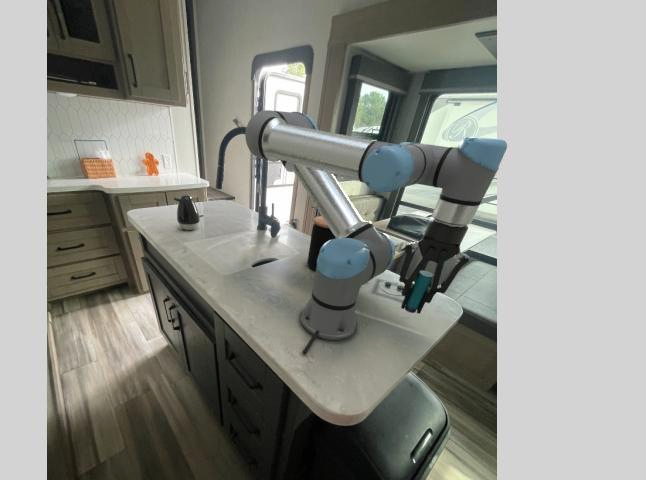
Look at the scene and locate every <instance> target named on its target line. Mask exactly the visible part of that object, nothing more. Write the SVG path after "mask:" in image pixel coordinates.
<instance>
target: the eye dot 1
mask: <svg viewBox="0 0 646 480" xmlns="http://www.w3.org/2000/svg"><path fill="white" fill-rule="evenodd" d="M384 286H385V287H388V288H390V287H392V282H384Z"/></svg>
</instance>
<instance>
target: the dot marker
mask: <svg viewBox="0 0 646 480" xmlns="http://www.w3.org/2000/svg"><path fill="white" fill-rule="evenodd" d="M433 276H434V273H432V272H430V271H427V270H421V271H420V272H419V274H418V275H417V277H416V278H415V280H414V282H413V284H414V285H413V289H412V292H411V294H410V296H409V299H408V301H407V303H406V306H405V308H404V310H405V311H406V312H407V313H410V314H414V313H417V309H418V308H419V306H420V303H421V301H422V299H423V297H424V295H425V293H426V291H427V288H429V286H430V285H431V283H432V280H433Z"/></svg>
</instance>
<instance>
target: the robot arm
mask: <svg viewBox="0 0 646 480" xmlns="http://www.w3.org/2000/svg"><path fill="white" fill-rule="evenodd" d="M244 136H245V144H246V146H247V149H248V150H249V151H250V153H251V155H253V156H254V157H256V158H257V159H260V160H263V161H268V162H272V163H277V162H279V161H280V162H281V163H282V166H283V167H284V169H285V171H286V172H288V173H294V175H295V176H296V178H297V179H298V181H299V182H300V184H301V185H302V188H304V190H305V192H306V194H307V195H308V197H309V198H310V200H311V202H312V203H313V205H314V206H315V208H316V209H317V211H318V213H319V214H320V216H322V217H323V219H324V220H325V222H326V223H327V225H328V227H329V228H330V230H331V231H332V233H333V234H334V236H335V238H336V239H332V240H330V241H328V242H326V243H325V244H324V245H323V246H322V247H321V249H320V253H319V256H318V259H317V267H316V270H315V273H314V279H313V283H312V290H311V295H310V297H309V299H308V301H307V302H306V304H305V305H304V307H303V309H302V310H301V315H300V317H301V318H300V322H301V325H302V326H303V328H304V329H305V330H306V331H307V332H308V333H310V334H311V335H312V336H311V338H310V339H309V340H308V343H307V344H306V346H305V347H304V348H303V350H302V354H307V353H308V350H309V349H310V347H311V346H312V345H313V343H314V342H315V340H316V338H319V339H322V340H327V341H342V340H345V339H346V340H347V339H348V338H350V337H351V336H352V335H353V334H354V332H355V330H356V326H357V315H356V303H357V299H358V296H359V292H360V290H361V288H362V286H364V285H365V284H367V283H368V282H369V281H371V280H373V279H375V278H376V277H378V276H379V275H381V274H383V273H384V272H386V270H387V269H388V268H390V266H391V265H392V264H393V262H394V259H395V256H396V247H395V243H394V241H393V239H392V238H391V237H390V236H389V235H388V234H387V233H384V232H381V231H378V230H377V229H376V227H375V225H374V224H373V222H372V221H368V220H363V218H362V217H361V215H360V213H359V212H358V210H357V209H356V207H355V206H354V204H353V203H352V202H351V200H350V199H349V197H348V195H347V194H346V192H345V191H344V189H343V188H342V186H341V185H340V183H339V181H338V180H337V179H336V177H335V176H339V177H341V178H345V179H348V180H353V181H356V182H360V183H363V184H365V185H366V186H367V188H369V189H370V190H371V191H373V192H376V193H391V192H394V191H397V190H399V189H402V188H407V187H410V186H413V185H422V186H428V187H433V188H438V189H441V192H440V194H439V196H438V199H437V201H436V204H435V207H434V209H433V211H432V214H431V217H432V218H430V219H429V221H428V223H427V226H426V229H425V231H424V233H423V236H421V238H420V239H419V240H418V241H413V242H412V241H410V240H409V241H407V242H406V244H405V257H404V260H403V261H404V262H403V265H402V268H401V272H400V274H399V279H398V281H399V282H400V283H403V284H404V285H403V286H404V288H403V290H401V295H402V296H401V297H404V298H403V300H402V303H401V306H400V307H401V308H400V309H403V310H405V306H406V303H407V301H408V299H409V296H410V294H411V292H412V289H413V285H414V282H415V280H416V278H417V276H418V274H419V272H420V271H422V270H423V268H424V266H425V265H426V263H428V262H433V263H436V264H435V268H434V271H433V278H432V280H431V283H430V287H428V288H427V291H426V293H425V295H424V297H423V299H422V301H421V303H420V306H419V308H418V309H417V310H416V314H418V315H420V314H421V312H422V310H423V308H424V306H425V304H426V303H427V304H430V303H431V302H432V300H433V299H434V296H435V295H437V293H439V294H445V293H446V292H447V290H448V289H449V287H450V286H451V284H452V283H453V281H454V280H455V279H456V276H457V275H458V273H459V272H460V270H461V269H462V268H463V267H464V266H465V265H466V264H468V263H469V262H470V257H469V254H468V253H464V252H462V251H461V244H462V243H463V240H464V238H465V236H466V233H467V232H468V230H469V226H468V225H471V224H472V222H473V220H474V218H475V216H476V214H477V212H478V210H479V208H480V206H481V203H482V201H483V199H484V197H485V196H486V193H487V192H488V190H489V188H490V186H491V184H492V182H493V180H494V178H495V176H496V174H497V172H498V170H499V169H500V168H499V167H500V165H501V163H502V160H503V159H504V156H505V153H506V152H507V148H508V143H507V142H506V141H505V140H503V139H497V138H490V137H489V138H487V137H475V136H466V137H463V139H462V140H461V142H460V144H459V145H458V147H457V146H444V145H443V146H442V145H436V144H428V143H420V142H417V141H415V142H413V141H411V142H408V141H407V142H406V141H403V142H400V143H399V144H396V143H390V142H386V141H378V140H374V139H367V138H362V137H357V136H352V135H346V134H340V133H336V132H330V131H324V130H319V129H318V126H317V124H316V122H315V121H314V119H313V118H312V117H311V116H309V115H308V114H306V113H302V112H300V111H281V110H271V109H266V110H261V111H259V112H256V113H254V115H252V117H250V119H249V121H248V123H247V124H246V127H245V134H244ZM417 248H418V250H419V251H420V254H421V255H420V258H419V260H418V261H417V263H416V264H415V265H414V268H413V269H412V270H411V272H410V274H409V275H408V276H407V273H408V270H409V266H410V264H411V263H410V262H411V260H412V256H413V253H415V252H416V250H417ZM454 257H455V258H454ZM452 258H454V260H455V261H454V262H453V264H452V266H450V267H451V268H449V271H448V272H447V274H446V276H445V277H444V278H443V280H442V282H441V283H439V282H440V279H441V276H442V272H443V268H444V265H445V262H447V261H449V260H450V259H452Z"/></svg>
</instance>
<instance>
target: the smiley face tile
mask: <svg viewBox="0 0 646 480" xmlns="http://www.w3.org/2000/svg"><path fill="white" fill-rule="evenodd" d="M386 282H389V283H393V284H396V285H398V286H402V287H404V285H402V284H400V283H399V282H396V281H391V280H389V281H388V280H384V281H381V282H380V283H379V284H378V287H379V288H380V290H381V291H382V292H384V293H386V294H387V295H391V296H394V297H403V296H402V294H392V293H389V292H387V291H386V290H385V289H383V288H382V286H381V285H382V284H385V283H386Z"/></svg>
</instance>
